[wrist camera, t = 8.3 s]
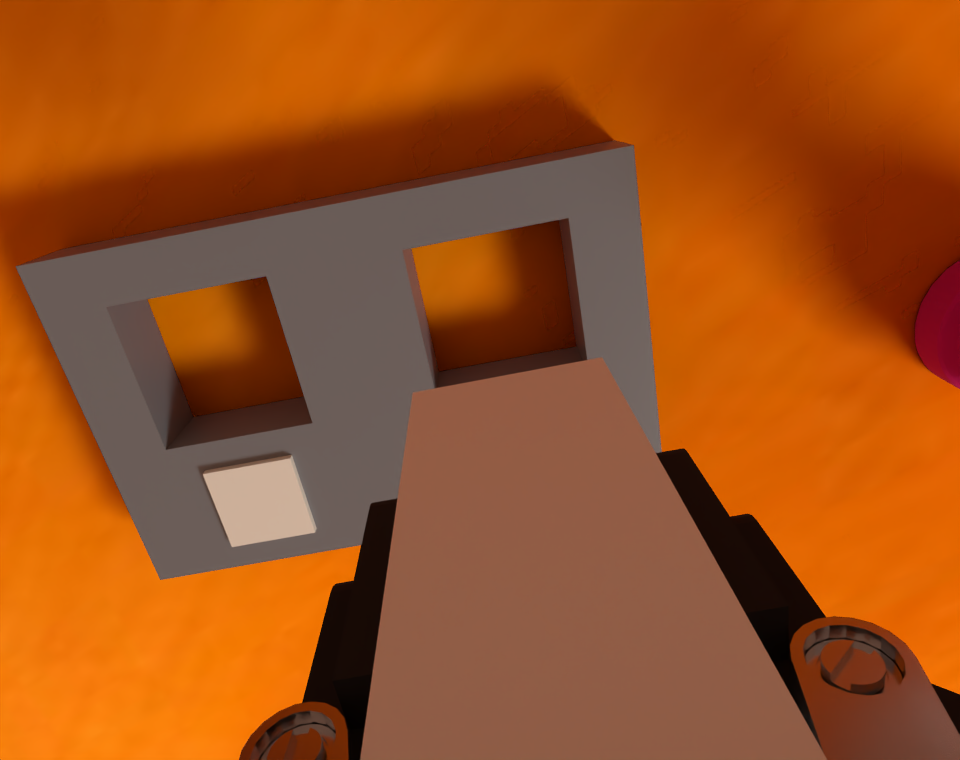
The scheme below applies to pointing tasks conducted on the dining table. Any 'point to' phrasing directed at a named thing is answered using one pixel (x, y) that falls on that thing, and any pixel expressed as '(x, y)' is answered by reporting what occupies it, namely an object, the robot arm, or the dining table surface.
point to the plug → (559, 593)
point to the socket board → (325, 346)
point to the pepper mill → (941, 327)
